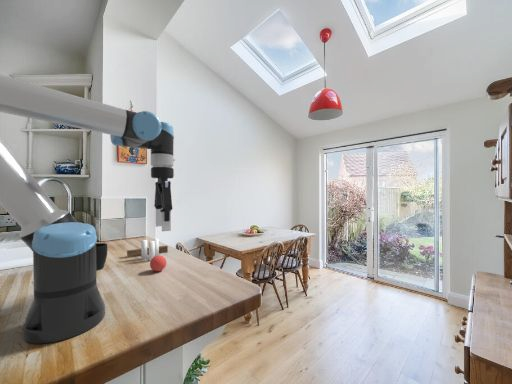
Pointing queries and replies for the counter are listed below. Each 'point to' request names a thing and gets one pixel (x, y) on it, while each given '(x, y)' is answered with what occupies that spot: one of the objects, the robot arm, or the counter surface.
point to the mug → (101, 255)
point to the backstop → (138, 251)
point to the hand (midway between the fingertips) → (162, 228)
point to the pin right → (156, 246)
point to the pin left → (144, 249)
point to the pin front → (151, 249)
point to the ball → (158, 263)
